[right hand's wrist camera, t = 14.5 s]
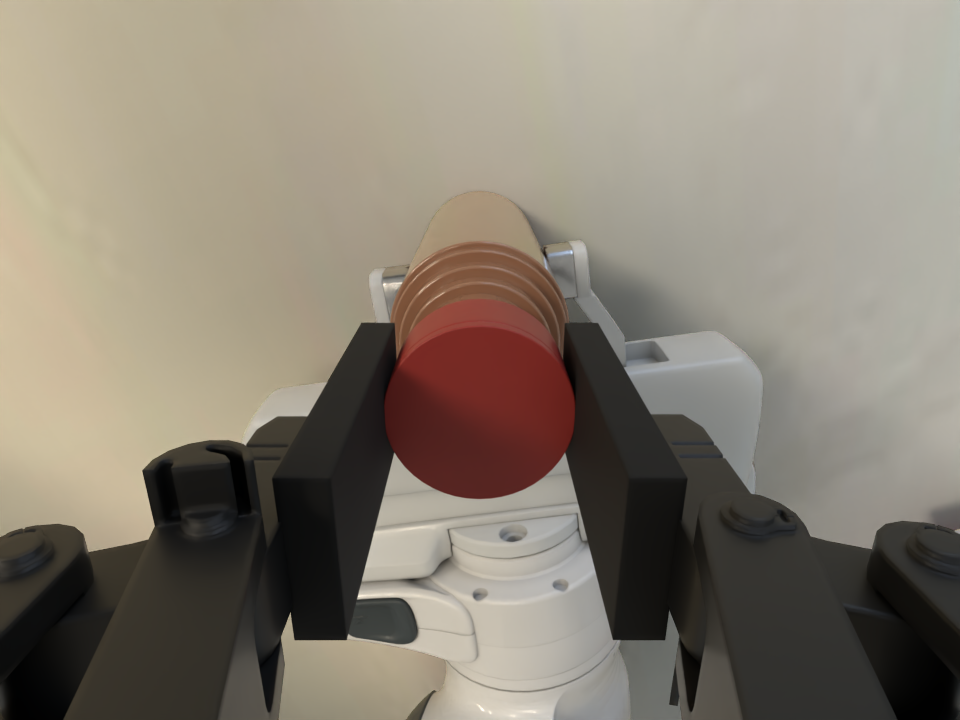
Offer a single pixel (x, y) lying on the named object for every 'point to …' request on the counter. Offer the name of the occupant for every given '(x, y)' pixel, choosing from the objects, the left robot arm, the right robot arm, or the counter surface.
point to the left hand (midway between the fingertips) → (475, 257)
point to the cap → (479, 400)
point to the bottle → (479, 265)
